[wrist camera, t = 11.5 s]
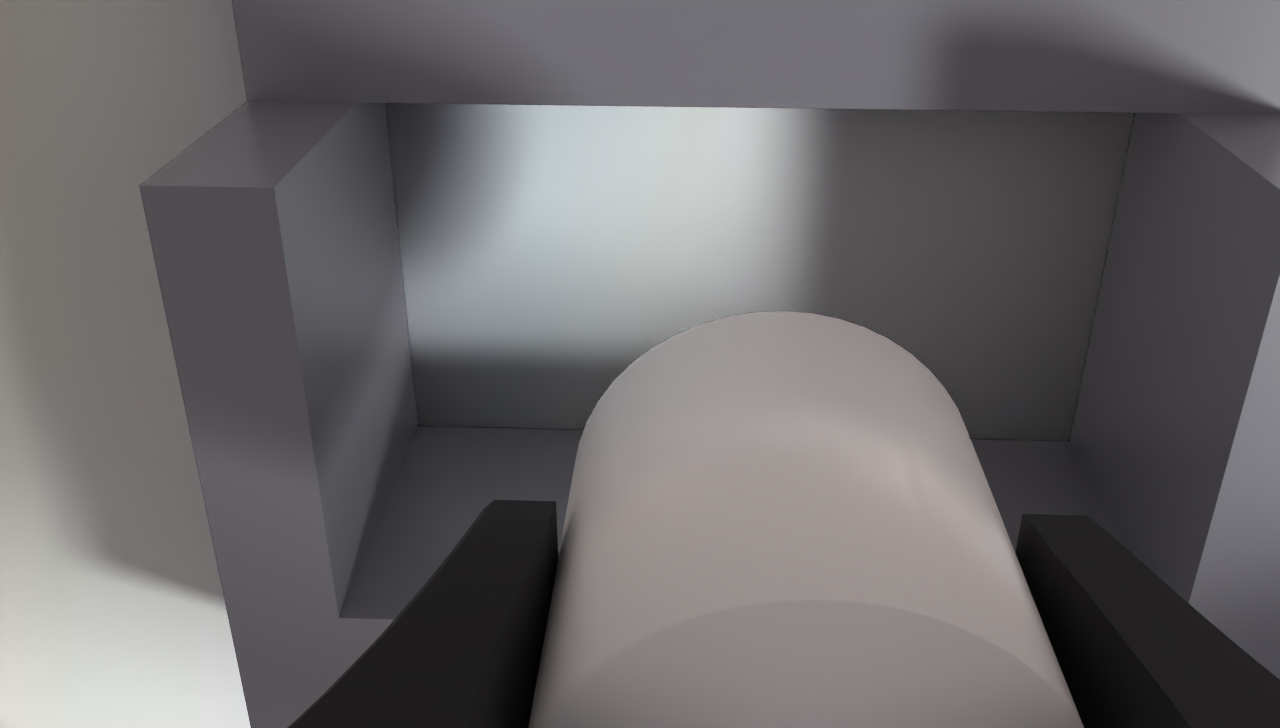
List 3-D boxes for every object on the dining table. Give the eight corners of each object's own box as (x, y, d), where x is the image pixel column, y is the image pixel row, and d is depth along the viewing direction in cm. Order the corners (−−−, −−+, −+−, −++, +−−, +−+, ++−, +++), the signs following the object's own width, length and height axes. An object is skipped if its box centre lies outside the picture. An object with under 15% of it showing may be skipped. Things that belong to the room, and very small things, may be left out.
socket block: (1282, -62, 16) (1509, 11, 11) (1105, 672, 22) (1208, 906, 17) (261, -69, 16) (100, -2, 12) (362, 649, 22) (280, 870, 18)
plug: (1001, 315, 12) (1158, 608, 8) (947, 650, 14) (1051, 1023, 10) (568, 306, 12) (500, 590, 8) (578, 639, 14) (529, 1001, 10)
